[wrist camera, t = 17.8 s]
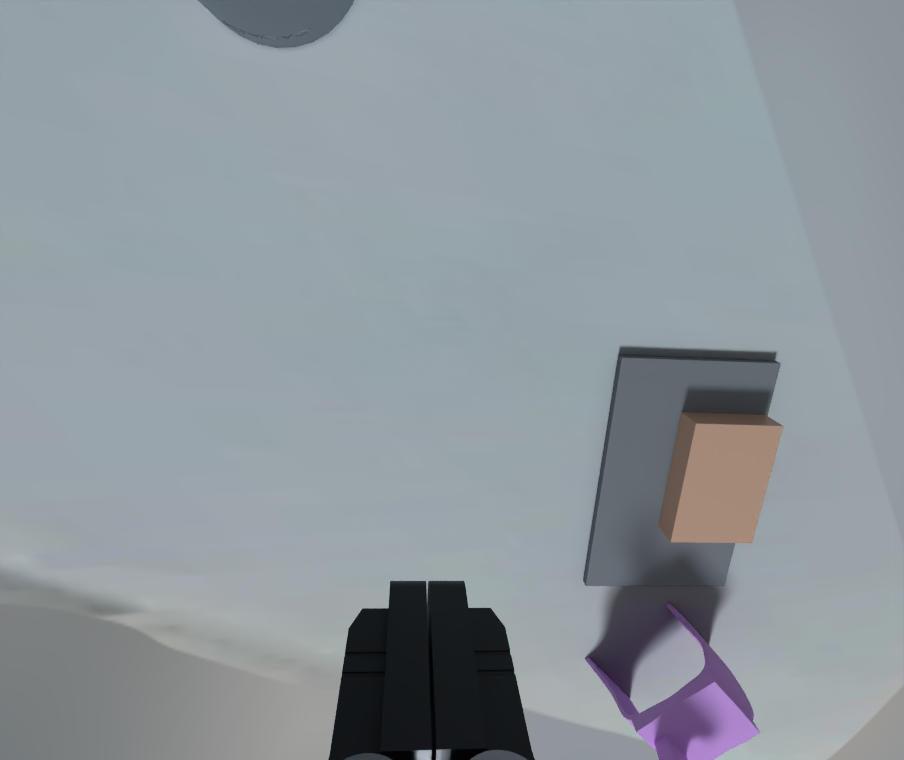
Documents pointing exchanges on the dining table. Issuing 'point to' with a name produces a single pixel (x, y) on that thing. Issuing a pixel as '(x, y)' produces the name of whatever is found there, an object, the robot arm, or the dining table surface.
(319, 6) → the robot arm
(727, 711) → the toy chair
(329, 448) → the dining table surface
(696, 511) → the block
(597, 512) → the mat
